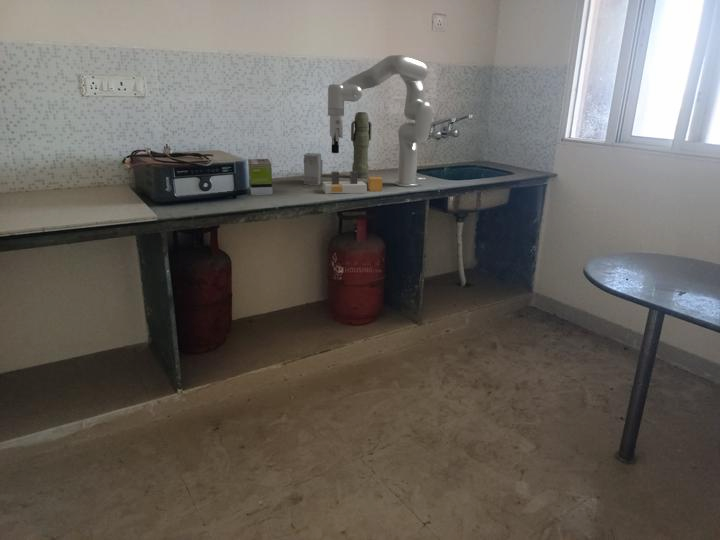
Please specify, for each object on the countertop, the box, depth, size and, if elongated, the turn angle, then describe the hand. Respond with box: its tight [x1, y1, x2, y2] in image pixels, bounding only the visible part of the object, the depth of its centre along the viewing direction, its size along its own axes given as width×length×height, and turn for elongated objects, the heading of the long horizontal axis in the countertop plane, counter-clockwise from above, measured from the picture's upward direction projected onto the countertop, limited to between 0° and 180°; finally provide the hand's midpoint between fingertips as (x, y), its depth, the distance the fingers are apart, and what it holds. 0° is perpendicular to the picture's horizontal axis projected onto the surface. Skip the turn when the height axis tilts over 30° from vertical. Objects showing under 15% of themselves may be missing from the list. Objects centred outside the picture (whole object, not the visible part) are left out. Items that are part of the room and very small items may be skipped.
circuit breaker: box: [303, 152, 323, 186], centre depth 274 cm, size 8×14×15 cm, turn 174°
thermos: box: [350, 111, 373, 179], centre depth 289 cm, size 9×12×35 cm
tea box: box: [247, 158, 273, 196], centre depth 247 cm, size 15×10×15 cm, turn 14°
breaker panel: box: [322, 180, 368, 195], centre depth 255 cm, size 20×10×4 cm, turn 102°
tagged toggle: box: [331, 170, 340, 184], centre depth 253 cm, size 3×3×7 cm
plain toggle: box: [349, 170, 358, 184], centre depth 255 cm, size 3×3×7 cm
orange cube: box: [367, 176, 383, 192], centre depth 261 cm, size 6×6×6 cm
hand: (335, 152), depth 249 cm, fingers closed
